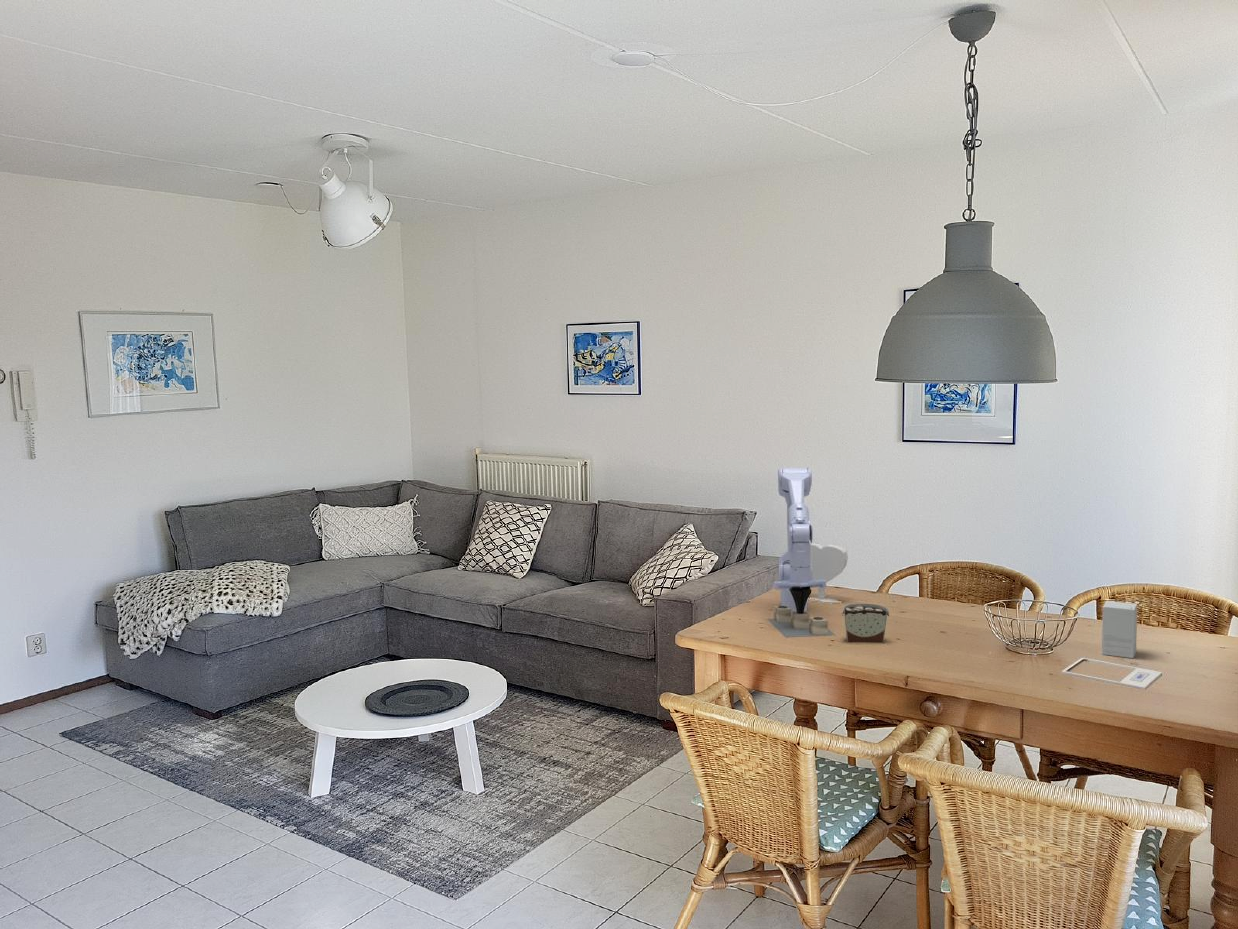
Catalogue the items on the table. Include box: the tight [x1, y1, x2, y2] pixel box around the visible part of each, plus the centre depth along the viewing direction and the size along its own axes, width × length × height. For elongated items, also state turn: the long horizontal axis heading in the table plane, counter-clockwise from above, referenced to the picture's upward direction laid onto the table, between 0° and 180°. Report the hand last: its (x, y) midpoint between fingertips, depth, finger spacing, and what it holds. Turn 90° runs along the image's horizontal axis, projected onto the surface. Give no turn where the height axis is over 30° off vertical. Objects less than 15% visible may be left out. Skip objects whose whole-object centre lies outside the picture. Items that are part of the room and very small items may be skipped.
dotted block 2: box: [809, 616, 829, 635], centre depth 263 cm, size 4×4×4 cm
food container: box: [841, 603, 890, 644], centre depth 256 cm, size 12×6×10 cm, turn 84°
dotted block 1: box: [773, 605, 792, 623], centre depth 276 cm, size 4×4×4 cm
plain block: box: [791, 611, 810, 629], centre depth 269 cm, size 4×4×4 cm
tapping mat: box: [766, 617, 836, 639], centre depth 270 cm, size 20×14×1 cm
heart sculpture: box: [808, 542, 849, 603], centre depth 302 cm, size 16×5×18 cm, turn 61°
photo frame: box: [1061, 657, 1163, 690], centre depth 227 cm, size 15×1×18 cm
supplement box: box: [1101, 600, 1138, 659], centre depth 243 cm, size 7×7×13 cm
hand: (800, 613), depth 269 cm, fingers closed, pressing on plain block
